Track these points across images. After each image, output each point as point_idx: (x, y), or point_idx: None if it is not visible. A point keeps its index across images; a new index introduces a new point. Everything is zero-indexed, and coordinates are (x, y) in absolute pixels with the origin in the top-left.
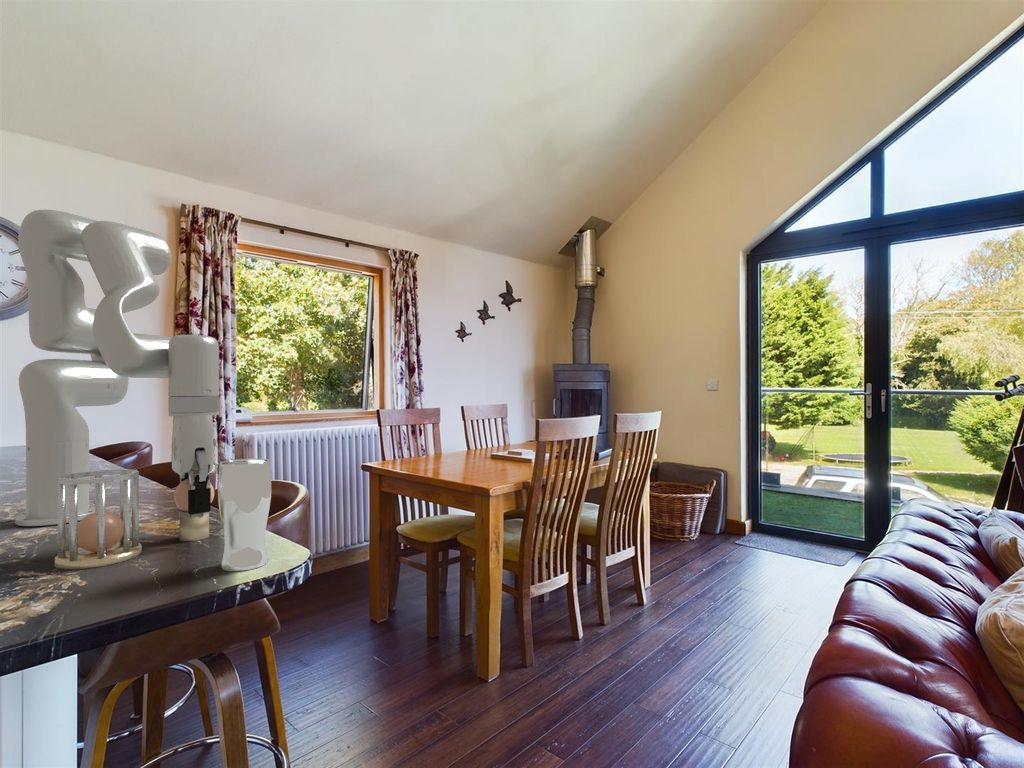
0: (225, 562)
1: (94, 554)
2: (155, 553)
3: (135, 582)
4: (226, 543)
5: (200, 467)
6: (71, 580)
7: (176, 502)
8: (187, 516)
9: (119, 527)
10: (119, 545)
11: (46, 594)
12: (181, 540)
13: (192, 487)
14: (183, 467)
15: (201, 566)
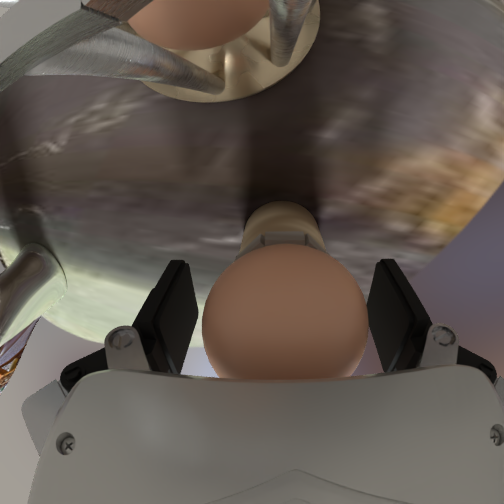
0: (20, 251)
1: None
2: (169, 135)
3: (19, 127)
4: (6, 268)
5: (22, 407)
6: None
7: (260, 249)
8: (241, 252)
9: (147, 39)
10: (248, 48)
11: None
12: (267, 203)
13: (108, 338)
14: (61, 406)
15: (47, 218)
